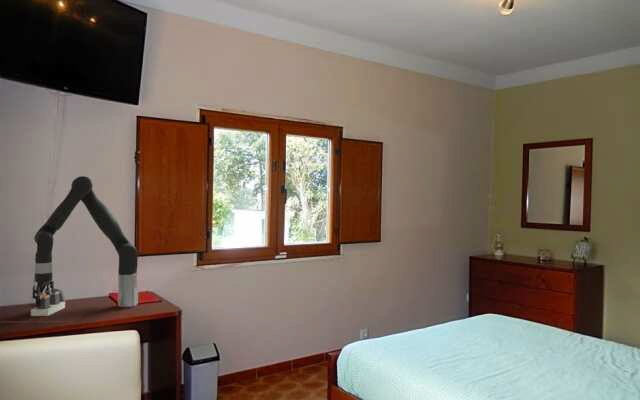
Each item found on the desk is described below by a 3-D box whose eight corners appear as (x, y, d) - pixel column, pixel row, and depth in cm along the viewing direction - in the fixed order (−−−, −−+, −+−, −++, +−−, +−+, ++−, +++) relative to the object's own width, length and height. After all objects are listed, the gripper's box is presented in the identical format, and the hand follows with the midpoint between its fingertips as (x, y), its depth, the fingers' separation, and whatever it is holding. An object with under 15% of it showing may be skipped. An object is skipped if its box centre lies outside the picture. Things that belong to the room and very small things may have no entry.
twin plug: (59, 308, 232) (59, 290, 232) (55, 310, 228) (55, 292, 228) (51, 308, 232) (51, 291, 232) (46, 310, 228) (47, 292, 227)
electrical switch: (66, 305, 243) (65, 288, 242) (56, 308, 238) (55, 291, 238) (57, 303, 248) (56, 286, 247) (47, 305, 244) (46, 289, 243)
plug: (49, 312, 223) (49, 294, 223) (45, 315, 219) (45, 296, 219) (41, 312, 222) (41, 294, 222) (36, 315, 218) (36, 296, 218)
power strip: (64, 309, 233) (64, 301, 233) (47, 317, 217) (47, 309, 217) (48, 309, 233) (49, 301, 233) (30, 317, 217) (30, 309, 217)
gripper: (43, 274, 214) (43, 308, 214) (59, 269, 228) (58, 301, 228) (27, 274, 213) (26, 308, 213) (43, 269, 227) (43, 301, 228)
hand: (43, 304), depth 221 cm, fingers open, 8 cm apart
